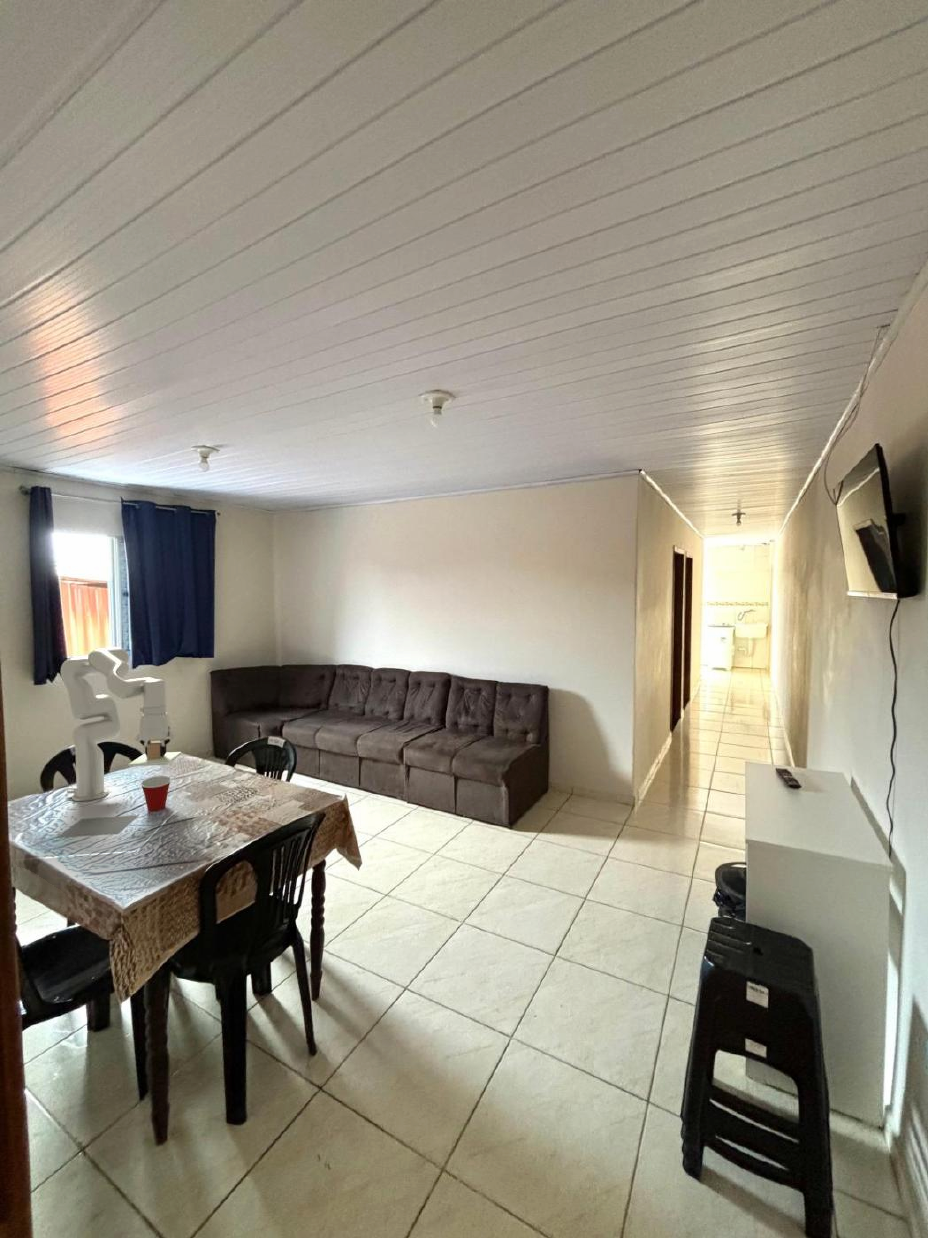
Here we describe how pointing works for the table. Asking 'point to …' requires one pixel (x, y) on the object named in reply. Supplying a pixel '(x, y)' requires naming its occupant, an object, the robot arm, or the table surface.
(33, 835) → the table surface
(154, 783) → the plastic cup
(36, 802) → the table surface
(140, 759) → the lid
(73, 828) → the mat
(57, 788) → the table surface
